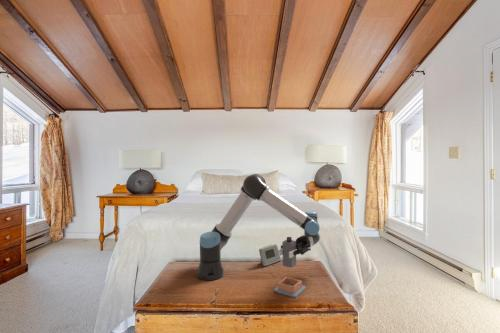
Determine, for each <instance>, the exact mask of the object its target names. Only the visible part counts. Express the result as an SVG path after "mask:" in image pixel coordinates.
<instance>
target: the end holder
mask: <svg viewBox="0 0 500 333" xmlns="http://www.w3.org/2000/svg"><path fill="white" fill-rule="evenodd" d="M305 290H307V286H306V285H303V280H301V279H296V278H293V277H289V276H285V277H284V278H283V279H282V280H280V281H279V282H277V286H276V287H275V288H274V289H273V292H275V293H278V294H281V295H285V296H289V297H292V298H293V299H294V298H295V299H296V298H298V297H299V295H301V294H302V293H303V292H304V291H305Z"/></svg>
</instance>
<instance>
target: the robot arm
mask: <svg viewBox="0 0 500 333" xmlns="http://www.w3.org/2000/svg"><path fill="white" fill-rule="evenodd" d="M242 184H243V185H242V186H241V187H240V193H239V195H238V196H237V198H236V199H235V200H234V202H233V203H232V205H231V206H230V208H229V209H228V211H227V213H226V214H225V216H224V217H223V218H222V220H221V221H220V223H216V225H215V226H214V227H213V228H212V230H211V231H207V232H204V233H202V234H201V235H200V237H199V263H198V268H197V270H196V277H197V278H198V279H199V280H202V281H214V280H218V279H221V278H222V277H223V276H224V273H225V272H224V271H225V270H224V268H223V264H222V261H221V260H222V258H221V251H222V249H223V248H224V247H225V246H226V245H227V244H228V242H229V240H230V239H231V237H232V235H233V234H232V231H233V229H234V228H235V227H236V225H237V224H238V222H239V221H240V220H241V218H242V217H243V216H244V214H245V212H246V211H247V209H248V208H249V206H250V205H251V204H252V202H253V201H258V202H263V203H265V204H266V205H267V206H269V207H271V209H274V210H275V211H276V212H278V213H279V214H281V215H282V216H284V217H285V218H287V219H288V220H289V221H291V222H292V223H294V224H295V225H297V226H299V228H301V229H302V230H304V231H303V232H304V234H302V235H301V236H299V237H297V238H296V239H295V241H296V249H294V250H292V251H290V252H289V258H292V257H293V256H295V255H296V256H297V255H301V256H302V255H304V254H306V253H307V252H309V251H312V250H311V249H312V248H311V247H313V246H315V245H317V243H318V242H319V241H320V239H321V236H320V233H319V232H320V224H319V222H318V221H319V220H318V213H317V212H316V211H312V210H311V211H302V210H301V209H299V208H298V207H296V206H294V205H293V204H292V203H290V202H289V201H288V200H286V199H284V198H283V197H281V196H280V194H277V193H276V192H274V191H272V190H271V189H270V187H269V185H268V184H266V180H265V178H264V177H263V175H260V174H257V173H253V174H250V175H248V176H247V177H246V178H245V179H244V181H243V183H242ZM278 251H279V256H280V257H282V256H283V248H282V244H280V249H278Z"/></svg>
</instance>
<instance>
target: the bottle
mask: <svg viewBox="0 0 500 333" xmlns="http://www.w3.org/2000/svg"><path fill="white" fill-rule="evenodd" d="M292 238H293V237H291V236H287V237H286V239H285V240H283V241H282V244H281V245H282V248H283V255H282V266H283V267H286V268H291V269H293V268H294V267H295V266H296V265H297V255H295V256H293V257H292V258H289V252H290V251H292V250H294V249H296V240H294V239H293V240H292ZM296 250H297V249H296Z"/></svg>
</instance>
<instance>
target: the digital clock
mask: <svg viewBox="0 0 500 333" xmlns="http://www.w3.org/2000/svg"><path fill="white" fill-rule="evenodd" d="M278 250H279V246H278V244H276V243H274V244H269V245H267V246H263V247H260V248H259V249H258V251H259V256H260V264H261V265H262V267H266V266H271V265H274V264H276V263H278V262H280V261H281V256H279V251H278Z"/></svg>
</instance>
